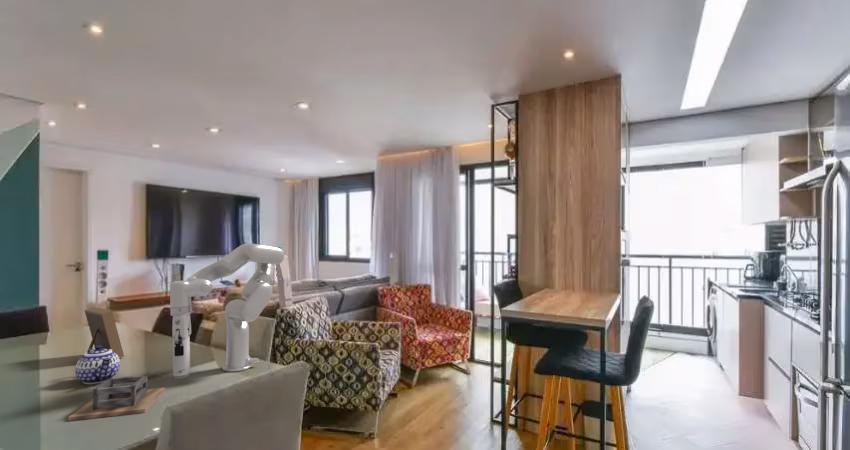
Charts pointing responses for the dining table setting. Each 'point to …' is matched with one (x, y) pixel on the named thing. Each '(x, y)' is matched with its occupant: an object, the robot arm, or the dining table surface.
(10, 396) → the dining table surface
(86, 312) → the photo frame
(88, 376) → the teapot
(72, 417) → the collar stand
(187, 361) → the travel mug
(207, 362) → the dining table surface
